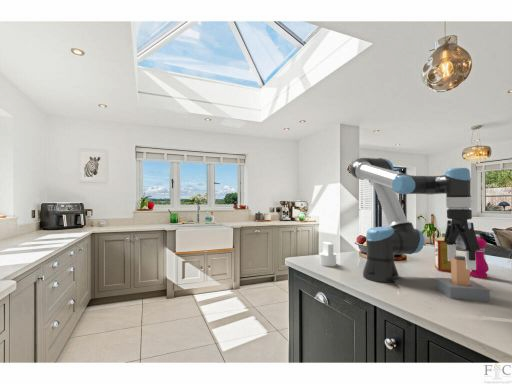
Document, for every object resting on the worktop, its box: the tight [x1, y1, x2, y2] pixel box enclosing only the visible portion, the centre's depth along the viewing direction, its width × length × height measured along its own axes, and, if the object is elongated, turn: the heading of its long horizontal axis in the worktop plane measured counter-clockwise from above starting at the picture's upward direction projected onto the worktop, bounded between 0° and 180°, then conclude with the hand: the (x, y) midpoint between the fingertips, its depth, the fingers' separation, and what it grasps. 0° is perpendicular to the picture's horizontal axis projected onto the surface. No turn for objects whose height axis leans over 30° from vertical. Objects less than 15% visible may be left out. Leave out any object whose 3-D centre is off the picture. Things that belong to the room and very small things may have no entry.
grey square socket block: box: [435, 277, 490, 302], centre depth 100 cm, size 12×12×5 cm
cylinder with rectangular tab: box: [319, 241, 337, 267], centre depth 149 cm, size 9×9×12 cm
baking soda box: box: [434, 237, 451, 273], centre depth 139 cm, size 10×6×16 cm
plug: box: [450, 255, 471, 286], centre depth 100 cm, size 4×4×14 cm
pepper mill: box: [470, 233, 489, 279], centre depth 126 cm, size 7×7×20 cm
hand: (460, 265), depth 99 cm, fingers open, 13 cm apart
